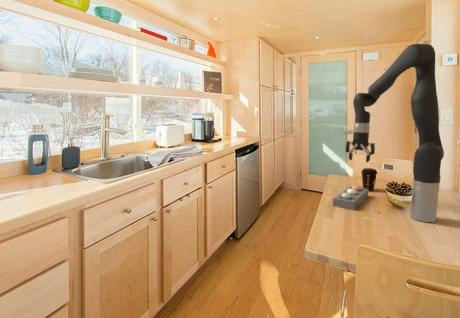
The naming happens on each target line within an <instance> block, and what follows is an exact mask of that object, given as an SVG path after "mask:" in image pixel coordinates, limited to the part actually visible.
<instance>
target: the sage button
mask: <svg viewBox="0 0 460 318" xmlns="http://www.w3.org/2000/svg"><path fill="white" fill-rule="evenodd" d="M342 199H347V200H351V194H350V193H342Z"/></svg>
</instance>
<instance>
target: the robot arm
mask: <svg viewBox="0 0 460 318" xmlns="http://www.w3.org/2000/svg"><path fill="white" fill-rule="evenodd" d="M411 68H414V69H415V76H416V79H415V80H416V82H415V85H414V88H413V90H412V93H411V98H410V109H411V114H412V120H413V122H414V124H415V127H416V130H417V133H418V134H417V135H418V148H417V149H416V150H415V152H414V155H413V156H414V157H413V167H412V168H413V169H412V174H413V181H412V193H411V201H410V202H411V203H410V211H409V216H410V218H411V219H413V220H415V221H418V222H424V223H433V224H435V223H436V221H437V220H436V219H437V214H438V213H437V212H438V205H439V192H440V184H441V183H440V182H441V165H442V160H443V159H444V155H445V151H444V148H443V144H442V143H443V142H442V140H441V135H440V134H441V133H440V115H439V113H440V112H439V109H440V108H439V99H438V94H437V83H436V50H435V47H433V45H432V44H429V43H413V44H409V45H408V46H406V47H405V49H404V50H403V51H402V52H401V53H400V54H399V55H398V57H397V58H396V59H395V60H394V61H393V63H391V65H390V66H389V67H388V68H387V69H386V71H384V73H383V74H381V76H380V77H378V78H377V79H376V80H375V81H374V82H373V83H372V84H371V85H369V87H368V89H367V91H368V92H358V93H357V94H355V96H354V98H353V108H354V109H353V110H354V113H355V117H354V125H353V134H352V135H353V136H352V141H350V140H347V141H346V144H345V152H346V153H348V159H349V161H353V156H354V155H353V153H354V151H355V150H356V151H364V153H365V154H366V157H365V162H366V163H369V162H370V160H371V156H372V155H374V154H375V151H376V146H375V145H376V143H375V142H373V143H372V142H369V139H370V131H371V130H370V129H371V128H370V127H371V126H370V121H371V112H369V111H367V110H366V108H367V107H369V108H370V107H372V106H373V105H374V104H376V102H378V100H379V98H380V97H381V96H382V95H383V94H384V93H385V92H387V91H388V90H390V88H391V87H392V86H393V85H394V84H395V82H396V80H397V79H398V77H399V76H400V75H402V74H403V73H405V71H407V70H409V69H411ZM351 145H352V147H351V149H350V146H351ZM368 147H370V149H369V148H368Z"/></svg>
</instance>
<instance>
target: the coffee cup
mask: <svg viewBox="0 0 460 318" xmlns="http://www.w3.org/2000/svg"><path fill="white" fill-rule="evenodd" d="M360 172H361V188H363V189H369V190H368V192H374V191H375V185H376V181H377V174H378V171H377V169H375V168H371V167H370V168H369V167H365V168H362V170H361V171H360Z"/></svg>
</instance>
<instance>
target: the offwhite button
mask: <svg viewBox="0 0 460 318" xmlns="http://www.w3.org/2000/svg"><path fill="white" fill-rule="evenodd" d="M346 189H347V188H346ZM347 193H350V194H351V195H354V196H356V190H355V189H347Z"/></svg>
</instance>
